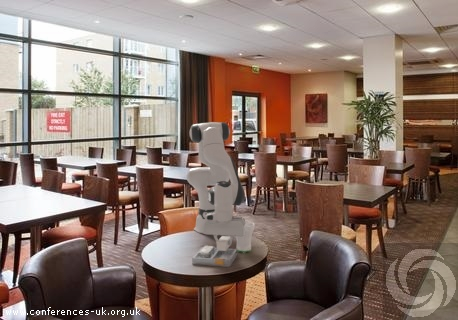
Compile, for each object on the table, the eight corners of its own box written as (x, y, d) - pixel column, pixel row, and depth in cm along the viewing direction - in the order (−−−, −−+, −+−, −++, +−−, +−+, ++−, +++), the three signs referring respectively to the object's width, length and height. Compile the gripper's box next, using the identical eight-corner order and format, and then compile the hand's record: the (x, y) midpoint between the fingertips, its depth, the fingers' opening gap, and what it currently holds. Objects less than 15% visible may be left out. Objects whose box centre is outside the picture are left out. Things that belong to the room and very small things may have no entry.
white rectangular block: (221, 243, 198) (221, 236, 197) (230, 244, 197) (230, 236, 196) (216, 250, 188) (216, 241, 188) (225, 250, 187) (225, 242, 187)
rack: (202, 252, 204) (202, 243, 204) (237, 255, 200) (237, 245, 200) (192, 264, 188) (191, 254, 187) (229, 267, 184) (229, 257, 183)
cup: (248, 255, 199) (248, 228, 198) (229, 252, 204) (229, 225, 203) (258, 249, 209) (258, 222, 207) (239, 246, 214) (239, 220, 213)
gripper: (246, 215, 192) (246, 243, 193) (205, 213, 196) (205, 240, 197) (243, 218, 185) (243, 247, 187) (201, 216, 190) (201, 244, 191)
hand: (223, 244), depth 192 cm, fingers closed on white rectangular block, 4 cm apart
